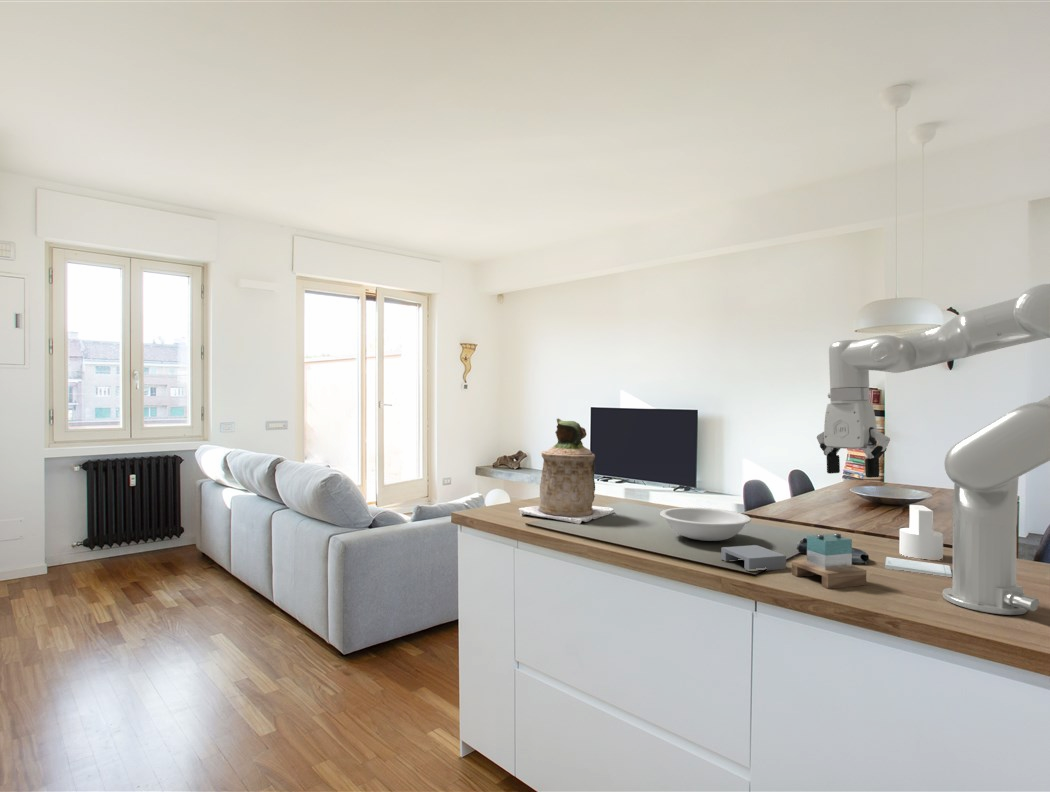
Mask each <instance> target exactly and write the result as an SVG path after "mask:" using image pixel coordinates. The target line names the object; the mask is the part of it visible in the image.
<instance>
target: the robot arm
mask: <svg viewBox="0 0 1050 792" xmlns="http://www.w3.org/2000/svg"><path fill="white" fill-rule="evenodd" d="M1046 339H1050V283H1043V284H1038V285H1035V286H1033V287H1030V288H1028V289H1027V290H1026V289H1025V291H1024V292H1022V293H1021V294H1020V295H1019V297H1014V298H1011V299H1008V300H1004V301H1001V302H998V303H994V304H990V305H985V306H982V307H978V308H975V309H971V310H967V311H963V312H961V313H959V314H957V315H955V316H954V317H952V318H951V319H950V320H949V321H947V322H946V323H944V324H941V325H939V326H937V327H934V328H932V329H928V330H926V331H922V332H918V333H914V334H911V335H906V336H902V337H897V336H894V335H890V334H885V335H883V334H882V335H877V336H873V337H868V338H864V339H863V338H862V339H848V340H847V339H845V340H837V341H834V342H832V343H831V344H830V345H829V348H828V359H829V360H828V362H829V363H828V364H829V389H830V390H829V392H828V394H827V398H828V399H830V403H827V405H826V409H825V414H824V415H825V416H824V425H823V427H824V428H823V429H824V430H823V431H822V432H821V433H819V434H817V436H816V439H817V442H818V444H819V448H820V449H821V450H822V452H823V455H824V456H826V473H827V474H831V475H832V474H839V473H840V472H841V469H840V468H841V466H840V463H841V462H840V455H838V453H839V452H840V450H841V449H849V450H860V449H861V450H862V451H863V453H864V454H865V456H867V457H865V458H864V465H865V466H864V469H865V477H866V478H868V479H869V478H878V477H880V459H881V458H882V457H883V454H884V453H885V452H886V451H887V450H888V449H887V448H888V446H889V443H890V441H891V438H890V437H889V436H887V435H885V434H884V433H882V432H880V431H878V427H877V421H876V415H875V410H874V406H873V403H872V402H870V401H871V400H870V398H871V397H870V373H869V371H879V372H887V373H891V374H899V373H905V372H909V371H913V370H914V371H915V370H917V369H924V368H926V367H931V366H935V365H939V364H944V363H947V362H952V361H954V360H959V359H965V358H969V357H972V356H976V355H981V354H983V353H988V352H989V353H990V352H992V351H997V350H1002V349H1006V348H1009V347H1014V346H1018V345H1022V344H1027V343H1032V342H1036V341H1041V340H1046ZM944 457H945V458H944V465H943V466H944V470H945V472H946V474H947V477H948V478H949V480H950V481H951V482H953V483H954V485H953V498H952V499H953V502H952V504H953V505H952V578H951V579H952V581H951V582H952V587H947V588H944V589H943V590H942V597H943V599H944V600H946V601H948V602H950V603H951V604H954V605H957V606H959V607H962V608H965V609H969V610H973V611H978V612H983V613H989V614H996V615H1006V616H1016V615H1023V614H1026V613H1027V612H1028V611H1031V612H1035V611H1037V609H1038V608H1039V603H1040V600H1039V599H1038V598H1037V597H1033V596H1030V595H1025V593H1024V586H1022V585H1019V584H1017V526H1018V491H1019V479H1020V478H1019V477H1022V476H1023V475H1025V474H1027V473H1029V472H1031V471H1033V470H1035V469H1038V468H1039V467H1040V466H1042V465H1044V464H1046V463H1048V462H1050V395H1048V396H1046V397H1044V398H1042V399H1041V400H1039V401H1036V402H1030V403H1024V404H1023V405H1020V406H1018V407H1016V408H1015V409H1013V410H1011V411H1009V412H1008V413H1006V414H1004V415H1002V416H1000V417H999V418H997V419H996V420H994V421H992V422H991V423H989V424H987V425H986V426H984V427H982V428H980V429H979V430H977V431H975V432H973V433H971V434H970V435H968V436H967V437H965V438H963V439H961V440H960V441H958V442H956V443H955V444H953V446H951V447H950V449H949V450H948V451H947V452H946V455H945V456H944Z"/></svg>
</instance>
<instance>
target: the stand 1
mask: <svg viewBox="0 0 1050 792" xmlns="http://www.w3.org/2000/svg"><path fill="white" fill-rule="evenodd" d="M720 550H721V551H720V552H721V554H720V557H721V558H720V560H721V559H723V560H725V561H729V560H738V559H743V561H744V567H743V568H747V569H756V568H765V567H766V568H768V569H767V570H766V571H774V570H775V571H776V570H777V571H778V570H786V569H787V555H786V554H783V553H780V552H777V551H774V550H771V549H770V548H769V549H768V548H766V547H763V546H760V545H757V544H752V545H751V544H750V545H737V546H723V547H721V549H720ZM725 561H724V562H725Z"/></svg>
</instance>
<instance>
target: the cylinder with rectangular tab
mask: <svg viewBox="0 0 1050 792" xmlns="http://www.w3.org/2000/svg"><path fill="white" fill-rule="evenodd" d="M898 547H899V550H898V551H899V555H901V554H902V555H901V556H903V555H904V556H903V557H906V556H908V557H907V558H909V557H914V558H922V559H941V558H943V559H944V534H943V533H942V532H940V531H935V530H934V510H932V509H930V508H929V507H926V506H925V505H923V504H922V505H920V504H909V527H903V528H899V546H898ZM914 558H913V559H914Z"/></svg>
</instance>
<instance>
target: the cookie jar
mask: <svg viewBox="0 0 1050 792" xmlns="http://www.w3.org/2000/svg"><path fill="white" fill-rule="evenodd" d="M556 423H557V425H556V430H555V435H556V439H557V443H555V445H553V446H552V447H550V448H549V449H548V450H545V451H544V450H543V451H542V452H541V457H542V459H543V462H542V464H543V465H542V470H541V477H540V484H539V500H540V505H533V506H526V507H519V508H518V511H519V514H520V517H522V516H524V515H528V516H533V517H539V518H547V519H553V520H557V521H564V522H569V523H572V524H577V525H580V524H581V523H582V522H584V523H588V522H590V521H592V520H597V519H600V518H602V517H606V516H609V515H611V514H613V513H615V512H614V511H615V510H614V508H612V507H608V506H601V505H600V506H598V505H593V503H594V501H595V491H596V483H595V471H596V466H595V458H596V455H595V453H593V452H592V451H591V450H590V449H589V448H587V447H585V446H584V445H583V444H584V443H583V441H582V440H583V439H585V438H586V436H587V431H586V429H585V428H584V427H582V426H581V425H580V423H579V422H576V421H574V420H562V419H560V418H559V417H558V418H557V417H556Z"/></svg>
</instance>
